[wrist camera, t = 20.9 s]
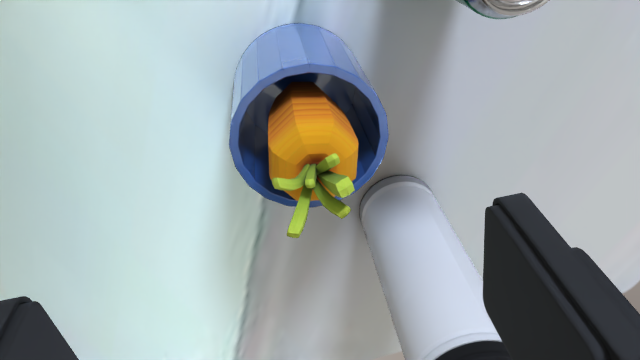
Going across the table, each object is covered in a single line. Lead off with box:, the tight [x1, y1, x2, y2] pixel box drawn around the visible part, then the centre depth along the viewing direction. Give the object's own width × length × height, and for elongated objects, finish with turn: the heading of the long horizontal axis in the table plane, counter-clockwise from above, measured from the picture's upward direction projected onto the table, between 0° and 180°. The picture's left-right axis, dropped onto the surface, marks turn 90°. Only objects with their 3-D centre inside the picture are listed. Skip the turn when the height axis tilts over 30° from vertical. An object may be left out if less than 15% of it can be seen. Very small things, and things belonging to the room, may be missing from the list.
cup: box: [229, 23, 389, 207], centre depth 31 cm, size 9×9×8 cm
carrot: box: [268, 82, 359, 238], centre depth 28 cm, size 5×5×15 cm
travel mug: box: [359, 175, 512, 360], centre depth 33 cm, size 6×7×20 cm
